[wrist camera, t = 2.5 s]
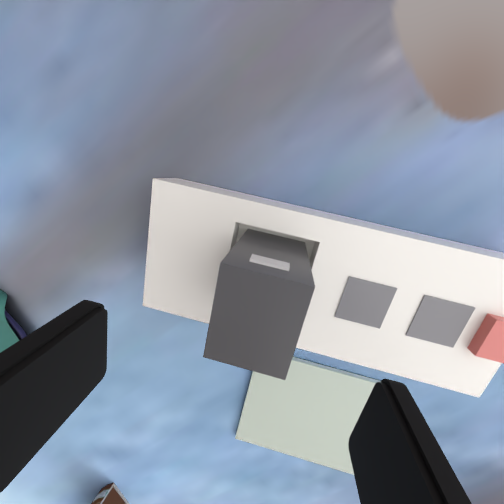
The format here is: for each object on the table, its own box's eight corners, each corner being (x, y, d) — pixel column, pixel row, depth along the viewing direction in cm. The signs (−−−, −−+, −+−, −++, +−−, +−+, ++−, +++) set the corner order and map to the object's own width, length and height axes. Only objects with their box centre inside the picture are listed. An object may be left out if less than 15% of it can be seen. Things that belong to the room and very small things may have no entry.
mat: (405, 387, 23) (407, 392, 23) (361, 472, 27) (362, 477, 27) (259, 347, 24) (258, 350, 24) (236, 434, 28) (235, 438, 28)
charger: (305, 240, 19) (316, 283, 11) (287, 304, 20) (285, 380, 13) (248, 226, 19) (220, 259, 11) (234, 290, 21) (203, 356, 13)
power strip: (505, 253, 19) (575, 277, 14) (446, 359, 22) (487, 407, 17) (178, 178, 21) (146, 178, 16) (166, 285, 24) (136, 310, 19)
